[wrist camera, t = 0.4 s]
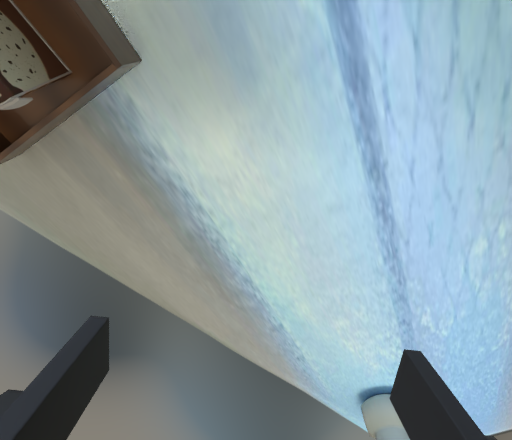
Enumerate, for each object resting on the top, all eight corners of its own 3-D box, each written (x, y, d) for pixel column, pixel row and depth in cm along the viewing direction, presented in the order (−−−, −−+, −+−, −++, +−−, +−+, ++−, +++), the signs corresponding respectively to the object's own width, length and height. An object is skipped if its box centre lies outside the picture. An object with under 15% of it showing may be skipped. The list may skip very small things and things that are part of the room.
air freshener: (356, 389, 60) (367, 448, 52) (401, 383, 58) (420, 444, 50) (368, 418, 66) (380, 476, 57) (409, 413, 63) (428, 473, 55)
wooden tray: (23, -112, 27) (-24, -137, 22) (142, 60, 33) (121, 65, 29) (-97, 35, 34) (-150, 37, 29) (20, 154, 40) (-10, 169, 36)
